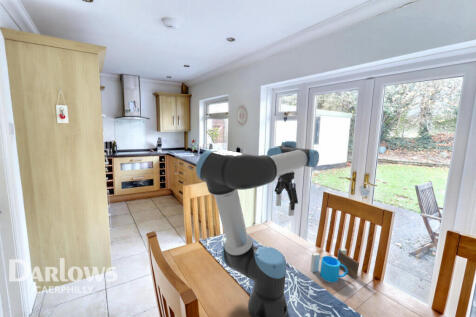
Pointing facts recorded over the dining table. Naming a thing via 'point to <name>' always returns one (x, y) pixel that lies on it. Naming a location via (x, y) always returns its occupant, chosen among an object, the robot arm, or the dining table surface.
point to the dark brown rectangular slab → (349, 265)
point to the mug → (331, 269)
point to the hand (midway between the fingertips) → (284, 210)
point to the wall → (317, 256)
